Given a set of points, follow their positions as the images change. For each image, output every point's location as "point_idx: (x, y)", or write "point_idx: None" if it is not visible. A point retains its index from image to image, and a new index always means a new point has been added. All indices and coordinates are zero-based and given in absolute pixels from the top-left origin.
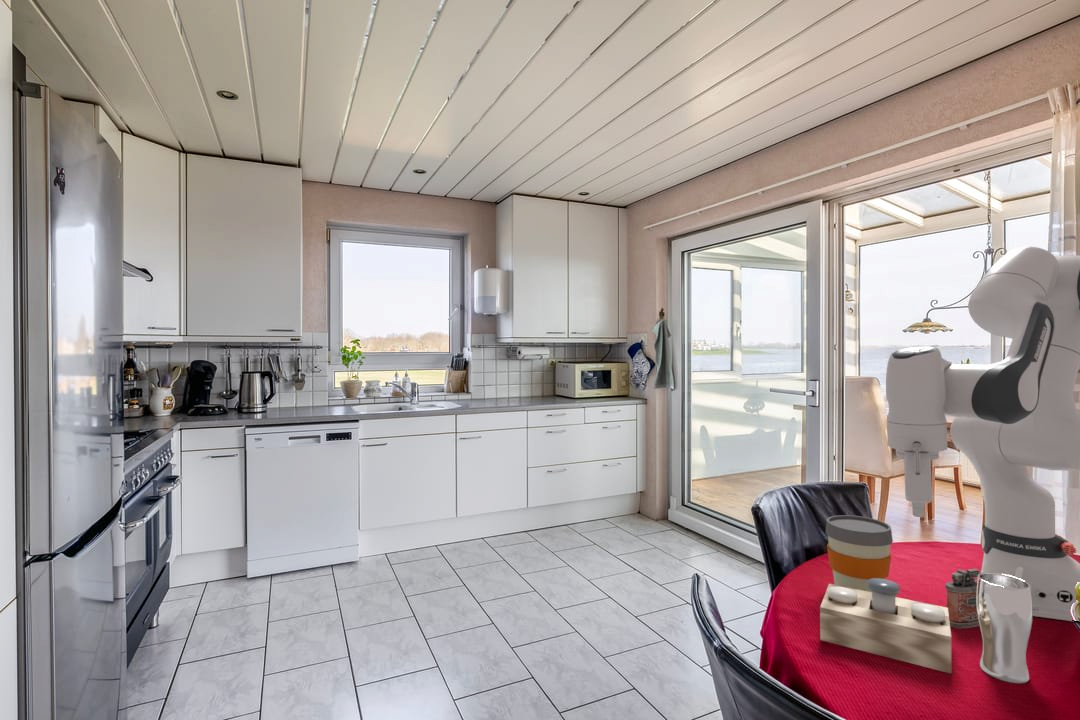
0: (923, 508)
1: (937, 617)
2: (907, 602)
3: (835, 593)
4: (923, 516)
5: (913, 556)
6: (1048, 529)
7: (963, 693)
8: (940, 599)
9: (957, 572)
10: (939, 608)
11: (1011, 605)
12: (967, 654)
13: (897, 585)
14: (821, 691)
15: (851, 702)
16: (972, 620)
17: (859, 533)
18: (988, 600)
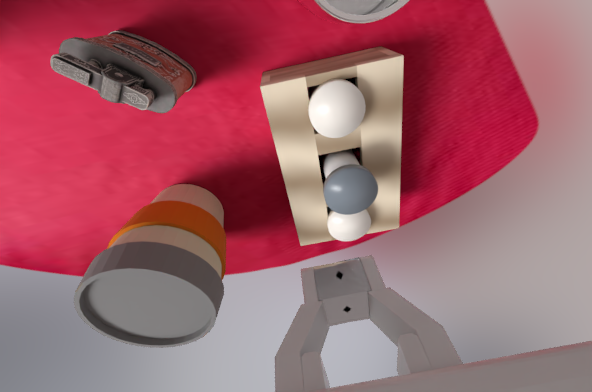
0: (384, 286)
1: (358, 90)
2: (291, 147)
3: (362, 229)
4: (370, 257)
5: None
6: None
7: (435, 19)
8: (87, 117)
9: (123, 100)
10: (316, 95)
11: None
12: (291, 36)
13: (344, 174)
14: (509, 160)
15: (521, 130)
16: (156, 49)
17: (210, 293)
18: None
